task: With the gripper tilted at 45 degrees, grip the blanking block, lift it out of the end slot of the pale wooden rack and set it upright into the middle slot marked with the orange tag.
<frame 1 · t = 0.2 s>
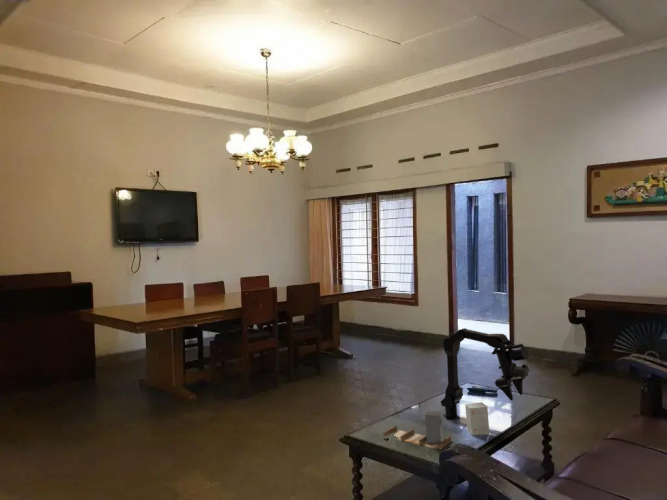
hand: (516, 397, 226), 15 cm above the table, tool pointing down, fingers open, 9 cm apart
small box: (478, 434, 227), on the table
blanking block: (435, 442, 218), point 1 cm above the table, touching slot rack
slot rack: (416, 441, 224), on the table
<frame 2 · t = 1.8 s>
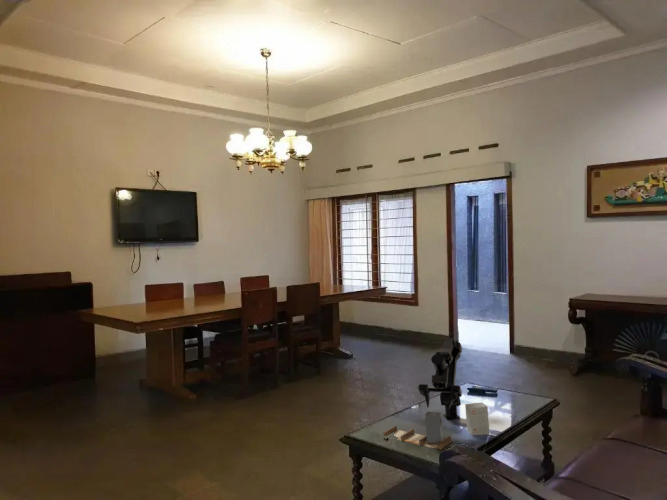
hand: (438, 407, 225), 13 cm above the table, tool tilted 45°, fingers open, 9 cm apart
nothing on the table moved.
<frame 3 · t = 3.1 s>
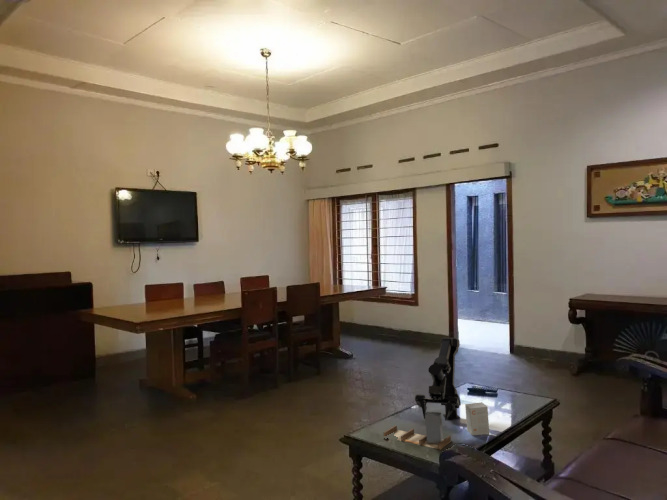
hand: (434, 419, 220), 10 cm above the table, tool tilted 45°, fingers open, 9 cm apart
nothing on the table moved.
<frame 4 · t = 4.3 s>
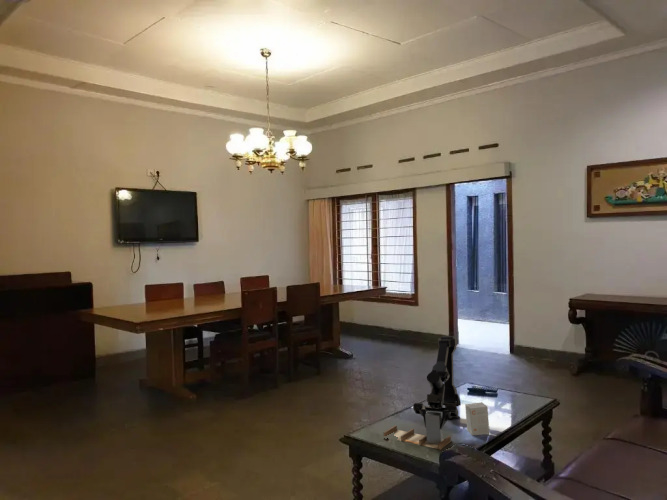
hand: (433, 428, 217), 8 cm above the table, tool tilted 45°, fingers closed on blanking block, 6 cm apart
blanking block: (435, 442, 218), point 1 cm above the table, touching gripper, slot rack
everything else where it was.
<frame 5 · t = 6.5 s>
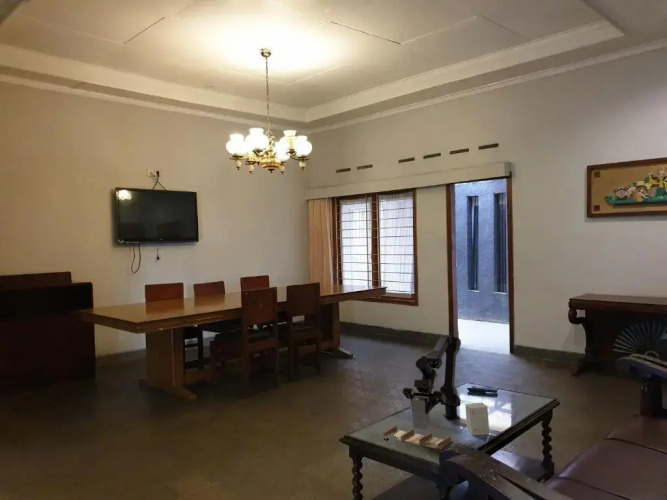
hand: (419, 413, 221), 13 cm above the table, tool tilted 45°, fingers closed on blanking block, 6 cm apart
blanking block: (421, 427, 222), point 7 cm above the table, touching gripper
everything else where it was.
when the fingers open (9 cm above the table, at t = 8.5 s): blanking block drops 1 cm, resting on slot rack.
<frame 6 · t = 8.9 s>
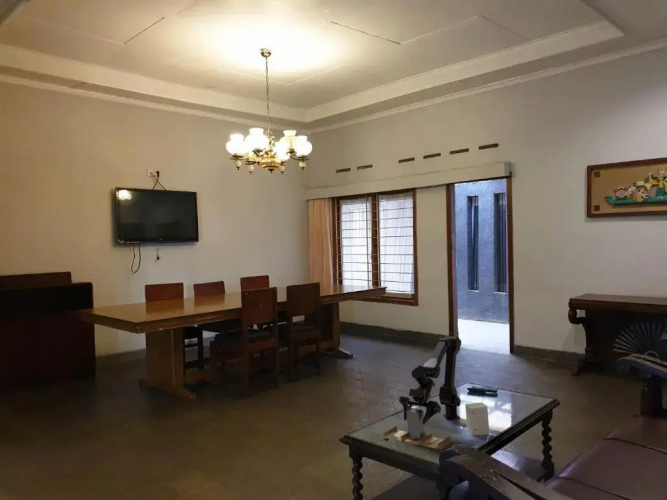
hand: (413, 422, 223), 9 cm above the table, tool tilted 45°, fingers open, 9 cm apart
blanking block: (416, 438, 224), point 1 cm above the table, touching slot rack
everything else where it was.
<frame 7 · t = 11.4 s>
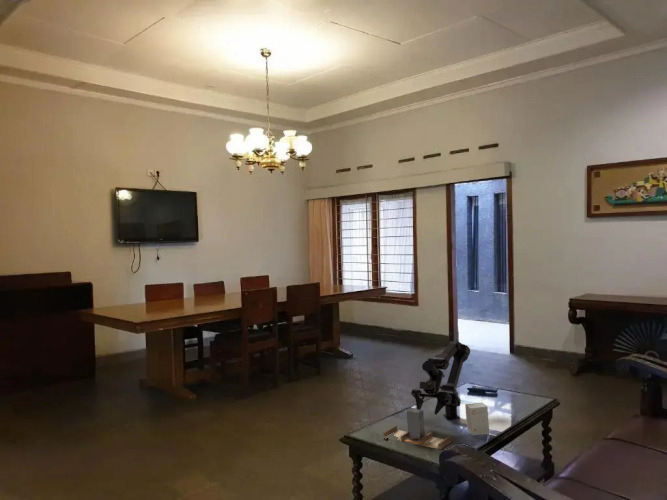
hand: (426, 413, 230), 10 cm above the table, tool tilted 40°, fingers open, 9 cm apart
nothing on the table moved.
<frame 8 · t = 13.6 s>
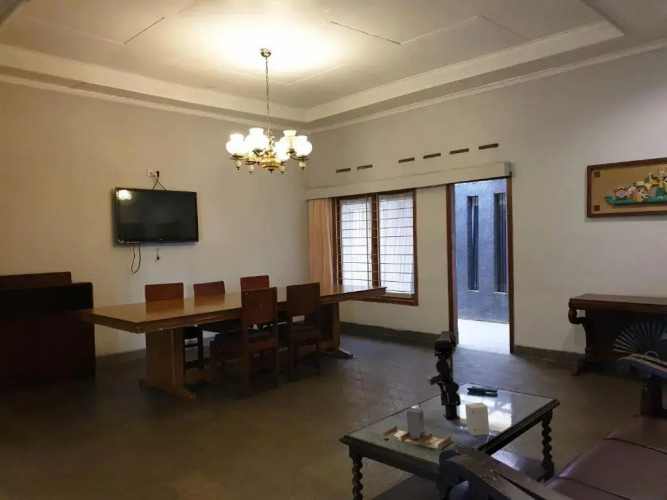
hand: (447, 400, 236), 13 cm above the table, tool pointing down, fingers open, 9 cm apart
nothing on the table moved.
at the end: blanking block 0.1 cm off-centre on the slot rack, point 1.0 cm above the slot rack's base; blanking block tilted 0°; the gripper is holding nothing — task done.
